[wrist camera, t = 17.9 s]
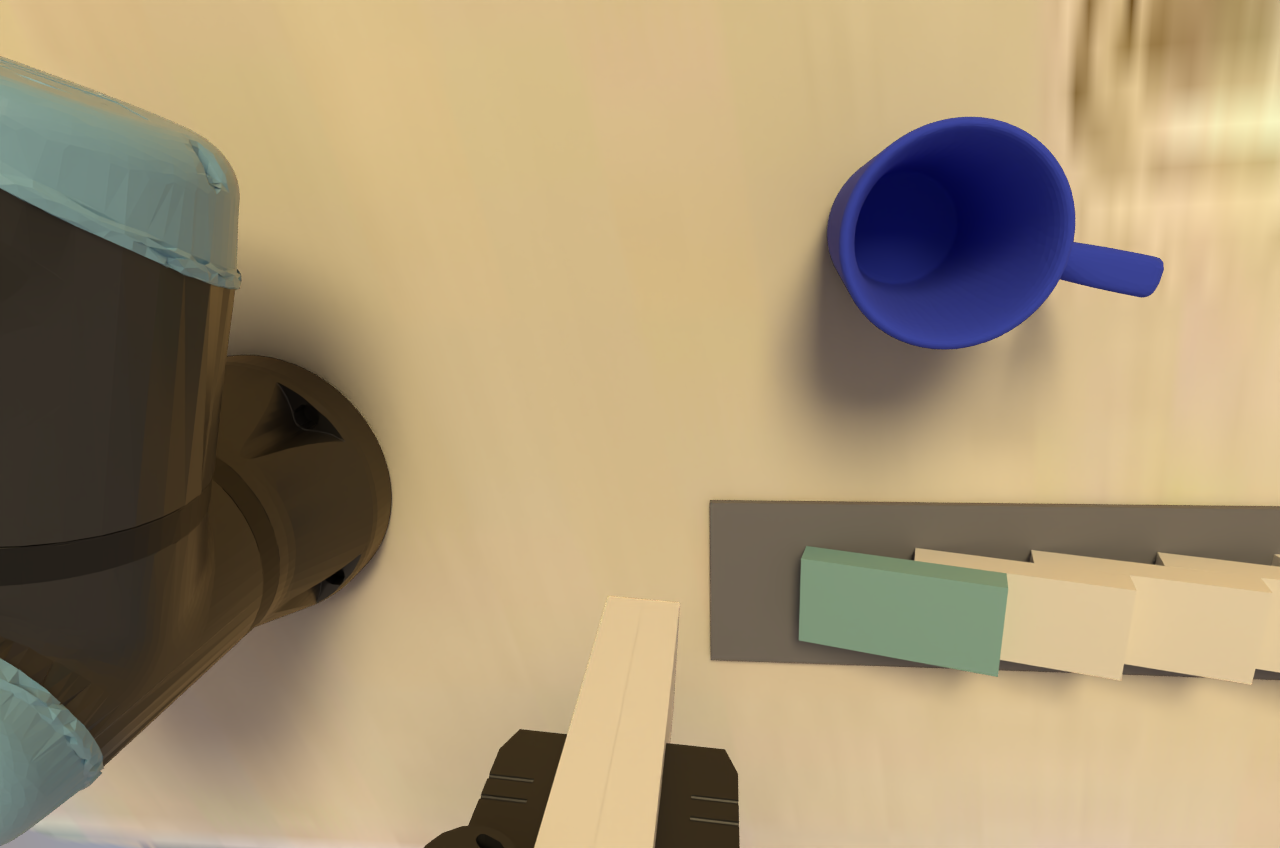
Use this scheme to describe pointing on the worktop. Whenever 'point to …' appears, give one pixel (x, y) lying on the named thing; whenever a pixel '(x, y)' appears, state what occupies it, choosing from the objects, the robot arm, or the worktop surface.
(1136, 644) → the domino
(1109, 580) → the domino
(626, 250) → the worktop surface
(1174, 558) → the domino
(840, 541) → the mat
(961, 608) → the green domino
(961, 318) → the mug
